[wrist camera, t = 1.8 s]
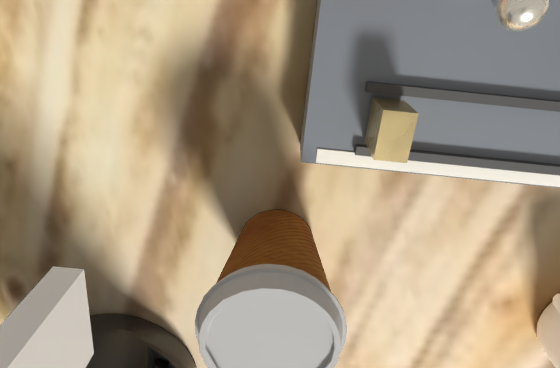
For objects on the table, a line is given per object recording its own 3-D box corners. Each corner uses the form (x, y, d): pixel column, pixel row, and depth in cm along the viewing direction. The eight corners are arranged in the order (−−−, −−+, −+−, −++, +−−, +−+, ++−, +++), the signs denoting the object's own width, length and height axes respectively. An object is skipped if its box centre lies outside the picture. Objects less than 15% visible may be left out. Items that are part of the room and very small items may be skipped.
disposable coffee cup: (228, 183, 34) (197, 269, 23) (343, 201, 35) (366, 295, 24) (216, 278, 38) (184, 391, 27) (320, 294, 39) (330, 412, 28)
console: (300, 143, 33) (301, 165, 29) (329, -100, 26) (336, -118, 22) (555, 169, 33) (593, 194, 29) (645, -66, 27) (710, -78, 22)
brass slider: (364, 141, 28) (373, 159, 25) (372, 96, 27) (383, 109, 24) (394, 144, 28) (407, 163, 25) (403, 100, 27) (418, 113, 24)
